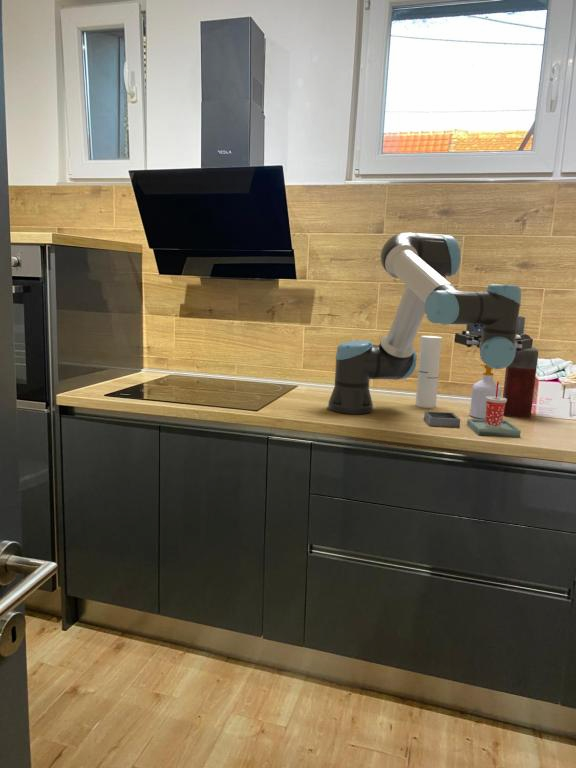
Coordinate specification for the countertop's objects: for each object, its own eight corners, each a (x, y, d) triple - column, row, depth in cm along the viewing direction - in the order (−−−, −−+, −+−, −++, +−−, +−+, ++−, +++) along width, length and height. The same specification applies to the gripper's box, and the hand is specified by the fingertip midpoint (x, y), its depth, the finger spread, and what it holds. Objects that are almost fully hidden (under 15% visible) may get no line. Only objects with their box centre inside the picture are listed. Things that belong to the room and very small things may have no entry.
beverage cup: (484, 423, 177) (489, 379, 175) (504, 426, 174) (510, 381, 172) (480, 427, 172) (485, 382, 169) (502, 430, 169) (507, 384, 166)
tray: (478, 435, 168) (478, 428, 167) (467, 424, 180) (467, 418, 179) (520, 437, 167) (520, 430, 167) (505, 426, 179) (506, 420, 179)
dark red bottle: (527, 411, 202) (537, 333, 197) (530, 418, 192) (540, 335, 187) (501, 409, 205) (509, 331, 200) (502, 415, 194) (511, 334, 189)
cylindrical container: (419, 402, 210) (424, 335, 206) (438, 405, 207) (444, 337, 202) (412, 406, 204) (418, 336, 199) (432, 409, 200) (438, 338, 196)
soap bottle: (475, 412, 198) (482, 342, 194) (501, 416, 193) (509, 344, 188) (465, 416, 191) (472, 343, 187) (492, 421, 186) (500, 346, 181)
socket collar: (429, 425, 176) (430, 418, 176) (423, 418, 185) (424, 411, 185) (459, 427, 176) (460, 419, 176) (452, 420, 185) (452, 412, 185)
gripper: (443, 356, 148) (445, 346, 168) (546, 365, 141) (536, 354, 161) (445, 327, 147) (448, 321, 167) (550, 335, 140) (540, 327, 160)
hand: (491, 337), depth 164 cm, fingers open, 13 cm apart
